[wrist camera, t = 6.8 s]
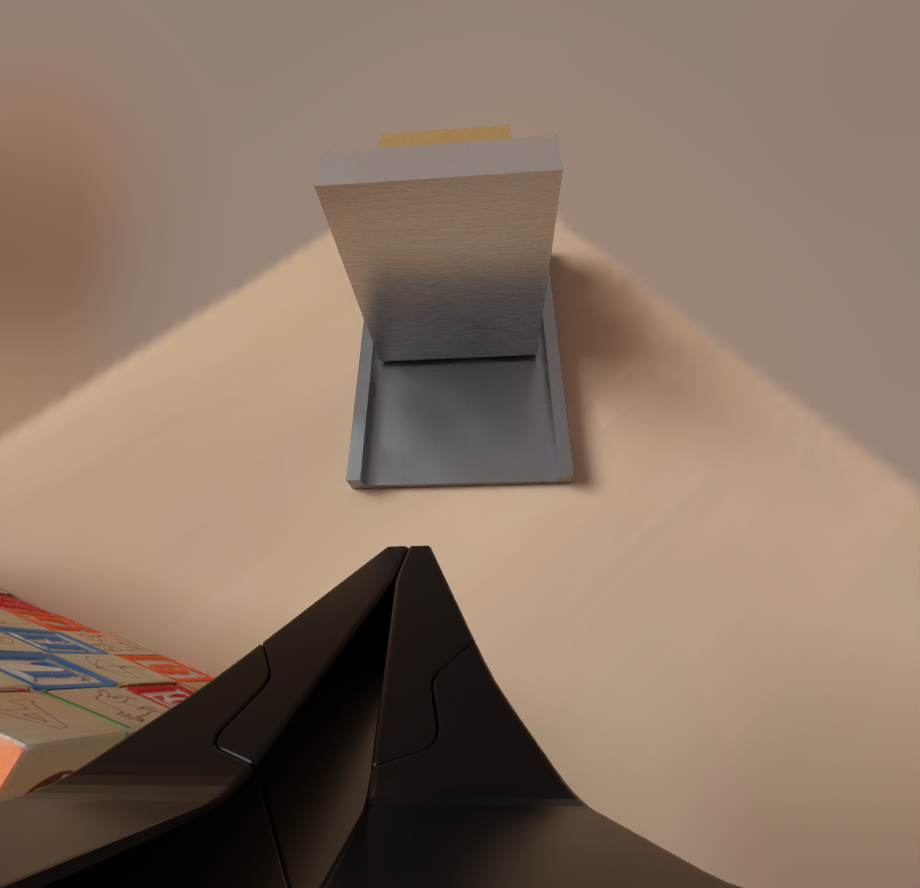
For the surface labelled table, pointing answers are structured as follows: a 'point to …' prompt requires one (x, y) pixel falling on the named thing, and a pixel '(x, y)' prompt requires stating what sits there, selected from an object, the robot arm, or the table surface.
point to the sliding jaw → (446, 242)
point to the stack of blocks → (73, 694)
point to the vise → (461, 418)
